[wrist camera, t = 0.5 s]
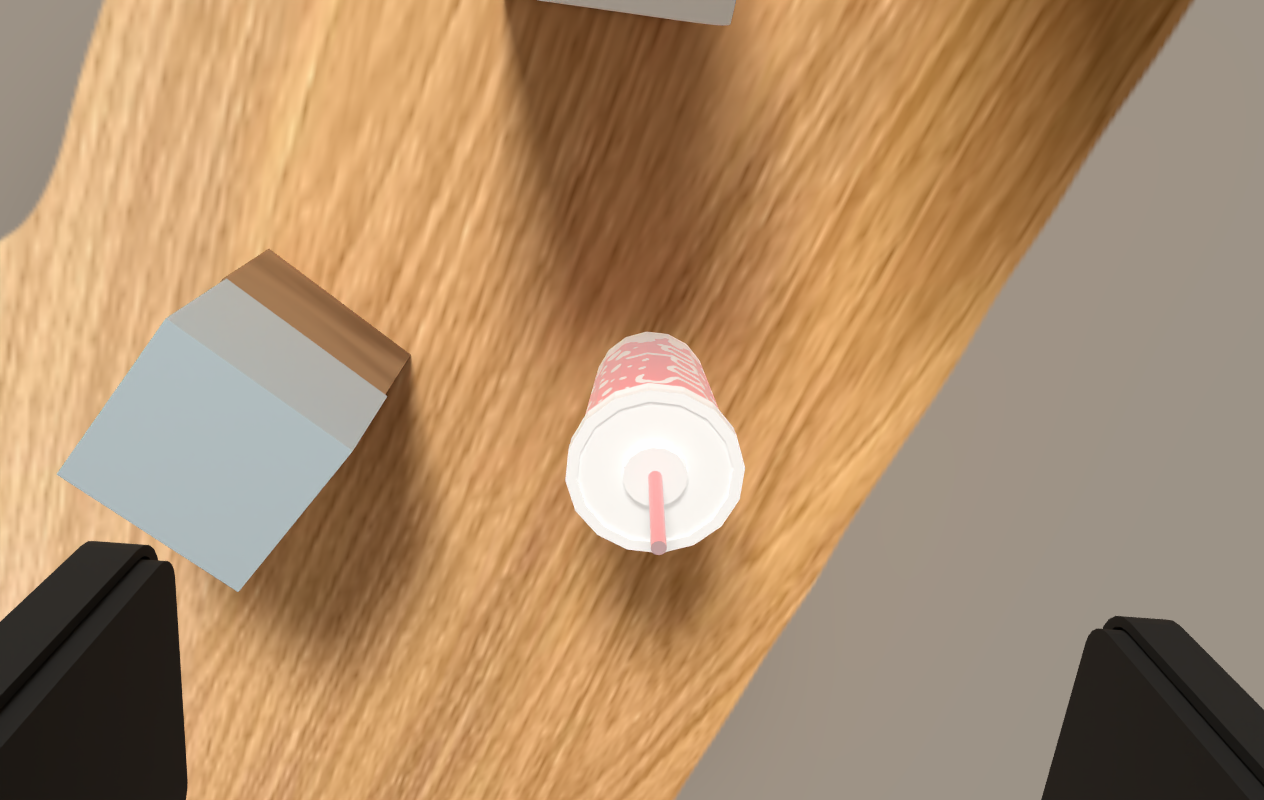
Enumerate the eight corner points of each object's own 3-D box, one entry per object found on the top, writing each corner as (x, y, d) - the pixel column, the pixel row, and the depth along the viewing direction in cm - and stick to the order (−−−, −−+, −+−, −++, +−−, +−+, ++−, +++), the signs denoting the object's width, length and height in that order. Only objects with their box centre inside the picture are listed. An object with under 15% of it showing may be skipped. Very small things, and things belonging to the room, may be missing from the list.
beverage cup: (752, 376, 42) (806, 538, 29) (657, 475, 44) (667, 671, 31) (643, 284, 41) (648, 411, 28) (548, 390, 43) (511, 557, 29)
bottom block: (269, 248, 40) (222, 278, 36) (411, 353, 42) (383, 396, 37) (179, 372, 42) (124, 417, 38) (318, 469, 44) (281, 523, 39)
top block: (226, 278, 36) (165, 318, 31) (387, 396, 37) (352, 450, 33) (127, 417, 38) (56, 474, 33) (284, 523, 39) (237, 592, 35)
